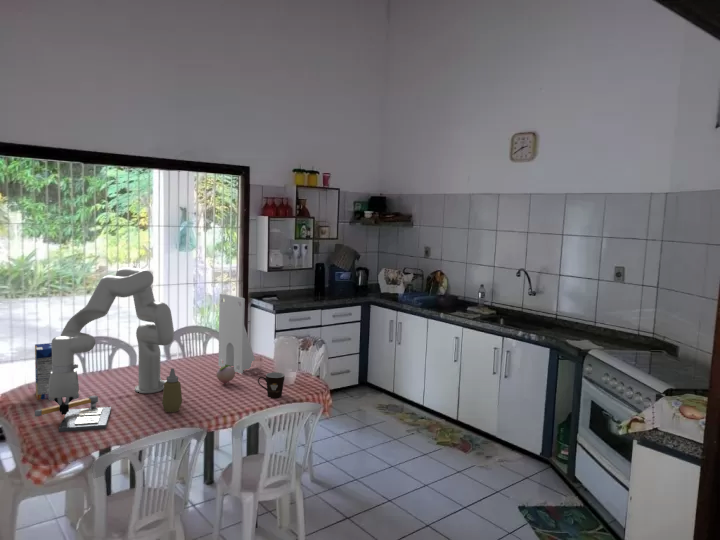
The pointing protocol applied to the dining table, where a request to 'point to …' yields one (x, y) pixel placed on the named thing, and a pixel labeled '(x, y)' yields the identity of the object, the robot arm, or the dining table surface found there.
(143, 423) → the dining table surface
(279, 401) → the dining table surface
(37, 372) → the beverage box
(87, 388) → the dining table surface
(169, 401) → the squeeze bottle
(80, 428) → the label base
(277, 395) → the coffee mug
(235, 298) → the white bracket plate
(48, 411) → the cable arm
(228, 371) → the decorative fruit
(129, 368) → the dining table surface
